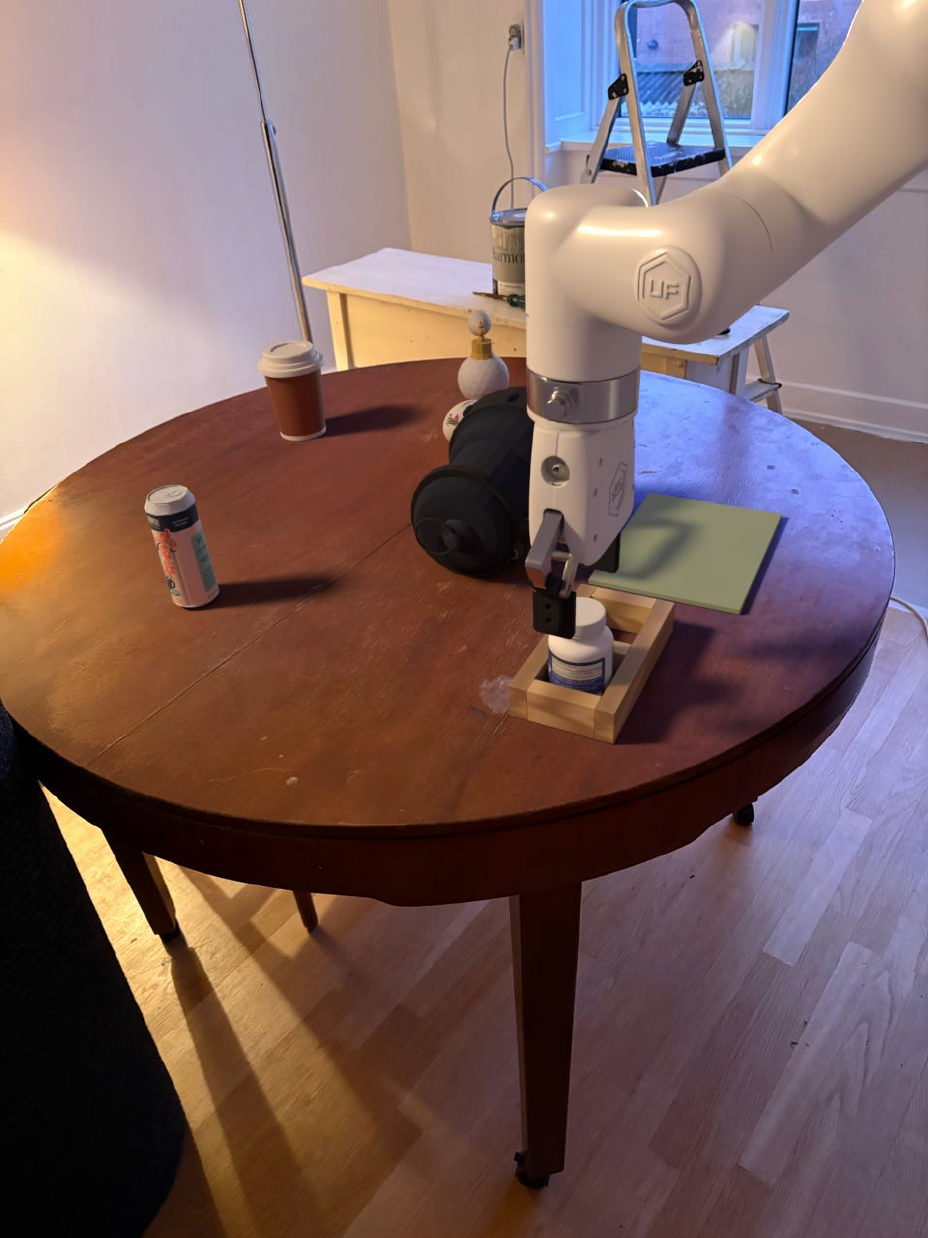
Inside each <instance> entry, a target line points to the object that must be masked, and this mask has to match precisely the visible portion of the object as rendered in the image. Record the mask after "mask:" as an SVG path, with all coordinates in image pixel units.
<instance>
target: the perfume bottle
mask: <svg viewBox="0 0 928 1238" xmlns="http://www.w3.org/2000/svg"><path fill="white" fill-rule="evenodd" d="M466 323H467V328H468V330H469V332H470V334H472V335H474V336H476V338H474V339H472V340H471V341H470V343H471V344H470V345H471V353H470V355H469V356H468V357H467V358H466V359H465V360H463V362H462V364H461V365H460V367H459V370H458V372H457V374H458V375H457V383H458V388H459V390H460V391H461V394H462V395H463V396H464V398H465V399H467V401H468V400H479V399H480V398H482V397H483V396H484V395H487V394H489V393H492V392H495V391H498V390H503V389H509V384H510V373H509V370H508V369H509V368H508V367H507V365H506V363H505V362H504V361H503V359H502V358H501V357H500V356H498V355H497V354H495V353H494V350H493V342H492V341H493V340H492V339H491V338H488V337H486V336H485V335H487V334H488V333H490V330H491V328H492V318H491V315H490V314H489V313H488V312H486V311H485V310H483V309H476V310H474V311H472V312H471V313H470V314H469V315H468V318H467V322H466Z"/></svg>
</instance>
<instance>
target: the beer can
mask: <svg viewBox="0 0 928 1238" xmlns="http://www.w3.org/2000/svg"><path fill="white" fill-rule="evenodd" d="M143 509H144V512H145V514H146V518H147V521H148V524H149V527H150V531H151V533H152V537H153V540H154V543H155V547H156V550H157V552H158V556H159V559H160V563H161V565H162V568H163V573H164V575H165V579H166V582H167V586H168V589H169V592H170V595H171V596H170V597H171V599H172V602H173V603H174V604H175V605H176V606H179V607H181V608H189V609H193V608H200V607H204V606H206V605H207V604H209V603H211V602H212V601H213V600H214V599H216V597H217V596H218V595H219V593H220V588H219V586H218V582H217V578H216V574H215V571H214V566H213V562H212V559H211V556H210V552H209V548H208V545H207V540H206V537H205V533H204V529H203V525H202V522H201V518H200V513H199V511H198V507H197V503H196V498H195V495H194V494H193V493H192V492H191V491H190V490H189V489H188V487H187V486H184V485H182V484H181V485H180V484H171V485H170V484H168V485H164V486H160V487H158V488H155V489H153V490H152V491H150V492H149V493H148V494H147V495H146V499H145V504H144V507H143Z"/></svg>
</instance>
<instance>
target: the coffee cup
mask: <svg viewBox="0 0 928 1238" xmlns="http://www.w3.org/2000/svg"><path fill="white" fill-rule="evenodd" d="M323 366H325V355H324V354H322V353H321V352H319V351H318V350H317V349H316V347H315V344H314V343H312V342H311V341H308V340H300V339H299V340H298V339H292V340H284V341H279V342H275V343H273V344H269V345H268V346H266V347H265V348H264V349H263V350H262V357H261V359H260V360H258V362H257V366H256V369H257V372H258V373H259V374H260V375H262V376H263V377H264V380H265V383H266V388H267V391H268V394H269V398H270V401H271V404H272V405H271V406H272V408H273V412H274V415H275V418H276V423H277V426H278V429H279V433H280V437H282V439H284V440H287V441H291V442H292V441H293V442H301V441H309V440H312V439H316V438H318V437H320V436H322V435H323V434H324V433H325V432H326V431H327V427H326V418H325V406H324V405H325V404H324V395H323V394H324V393H323V392H324V391H323V380H322V379H323V378H322V369H321V368H323Z"/></svg>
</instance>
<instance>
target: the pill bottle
mask: <svg viewBox="0 0 928 1238" xmlns="http://www.w3.org/2000/svg"><path fill="white" fill-rule="evenodd" d="M613 640H614V635H613V633H612V631H611V628H609V627H607V626H606V609H605V607H604V606H603V604H601V603H600V602H599V601H597V600H594V599H591V598H586V597H576V633H575V635H574V637H573V638H572V639H570V640H569V639H564V638H560V637H556V636H552V635H549V638H548V659H549V660H548V662H549V683H551V684H555V685H559V686H563V687H566V688H570V689H574V690H578V691H582V692H586V693H590V694H593V695H597V696H601V697H602V696H603V695H604V693H605V691H606V689H607V688H608V686H609V684H610V682H611V681H612V679H613V649H614V641H615V640H614V641H613Z"/></svg>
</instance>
